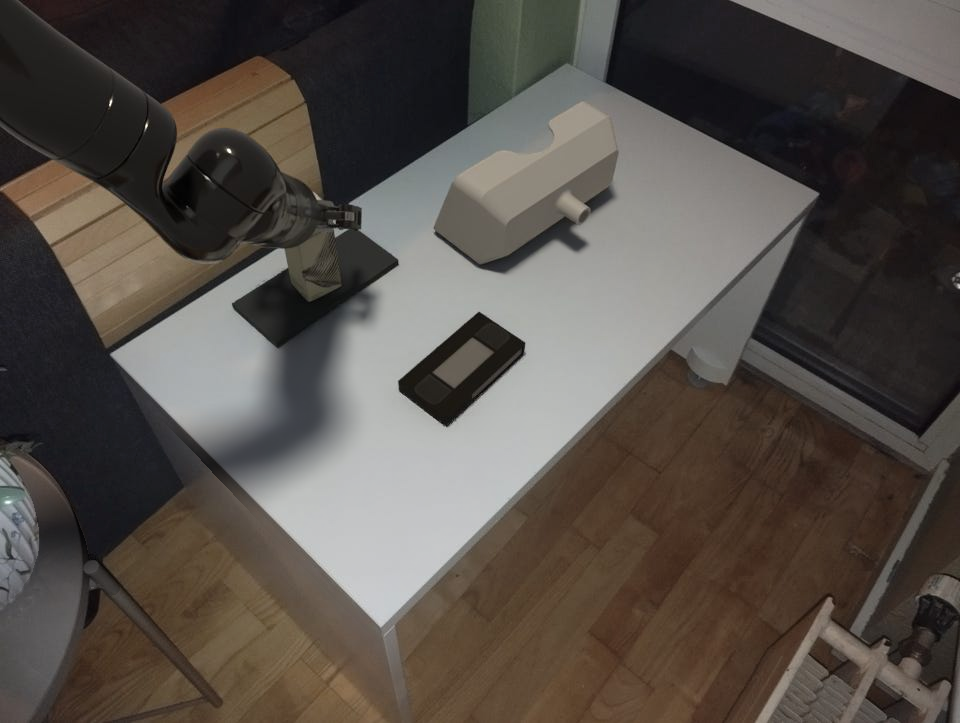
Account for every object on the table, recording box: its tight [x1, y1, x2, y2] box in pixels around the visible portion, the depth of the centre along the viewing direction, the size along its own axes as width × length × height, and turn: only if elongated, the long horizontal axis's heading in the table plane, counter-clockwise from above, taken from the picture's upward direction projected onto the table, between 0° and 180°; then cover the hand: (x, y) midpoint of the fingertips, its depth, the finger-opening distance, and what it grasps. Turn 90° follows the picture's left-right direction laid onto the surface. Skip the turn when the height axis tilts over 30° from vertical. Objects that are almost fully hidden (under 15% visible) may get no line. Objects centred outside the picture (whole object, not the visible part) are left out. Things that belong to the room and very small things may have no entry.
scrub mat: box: [231, 229, 400, 349], centre depth 99 cm, size 20×9×1 cm, turn 137°
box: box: [284, 191, 342, 302], centre depth 93 cm, size 5×4×13 cm
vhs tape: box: [397, 311, 526, 427], centre depth 91 cm, size 8×14×2 cm, turn 139°
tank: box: [432, 100, 620, 265], centre depth 103 cm, size 25×16×12 cm, turn 134°
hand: (308, 218), depth 92 cm, fingers open, 8 cm apart
